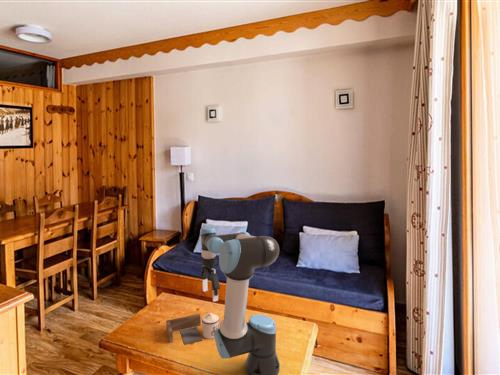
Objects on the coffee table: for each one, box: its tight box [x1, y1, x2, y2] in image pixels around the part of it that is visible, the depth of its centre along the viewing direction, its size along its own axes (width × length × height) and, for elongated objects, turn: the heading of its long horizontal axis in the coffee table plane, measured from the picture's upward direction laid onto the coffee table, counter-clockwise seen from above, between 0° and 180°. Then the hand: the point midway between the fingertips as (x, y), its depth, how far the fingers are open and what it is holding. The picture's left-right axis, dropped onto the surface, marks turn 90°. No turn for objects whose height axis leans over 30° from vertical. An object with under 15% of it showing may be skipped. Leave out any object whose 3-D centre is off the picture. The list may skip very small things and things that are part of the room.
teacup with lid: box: [201, 312, 220, 340], centre depth 170 cm, size 12×9×12 cm
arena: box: [165, 313, 203, 346], centre depth 168 cm, size 16×18×6 cm
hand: (210, 295), depth 170 cm, fingers open, 13 cm apart
